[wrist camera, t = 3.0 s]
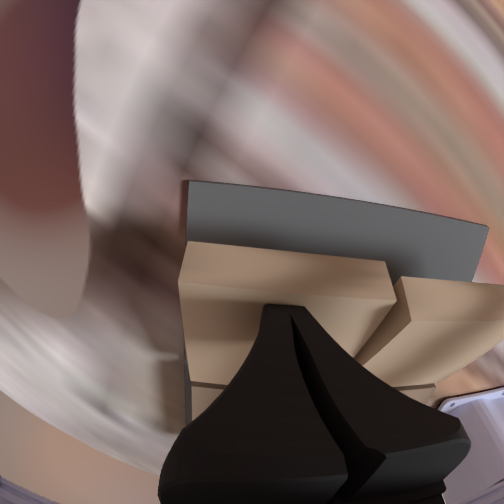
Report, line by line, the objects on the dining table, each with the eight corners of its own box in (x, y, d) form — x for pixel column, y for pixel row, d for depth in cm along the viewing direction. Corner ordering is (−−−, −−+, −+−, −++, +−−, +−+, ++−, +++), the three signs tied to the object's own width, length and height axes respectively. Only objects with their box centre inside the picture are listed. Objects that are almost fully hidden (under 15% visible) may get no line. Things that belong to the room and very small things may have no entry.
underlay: (486, 225, 14) (489, 227, 14) (387, 436, 21) (388, 439, 21) (190, 180, 13) (189, 181, 13) (187, 435, 20) (187, 439, 20)
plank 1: (384, 261, 11) (396, 300, 10) (324, 359, 17) (327, 389, 16) (188, 241, 11) (177, 281, 10) (194, 350, 16) (190, 380, 15)
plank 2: (517, 286, 11) (529, 319, 10) (434, 356, 17) (438, 382, 16) (400, 276, 11) (411, 320, 9) (332, 358, 17) (334, 389, 16)
